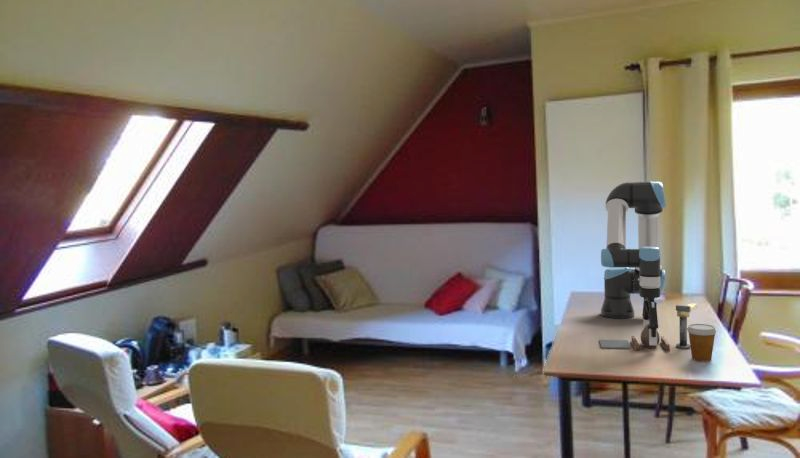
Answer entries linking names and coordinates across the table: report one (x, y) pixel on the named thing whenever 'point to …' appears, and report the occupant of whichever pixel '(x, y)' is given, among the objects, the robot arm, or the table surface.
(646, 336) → the vase
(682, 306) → the latch
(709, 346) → the disposable coffee cup
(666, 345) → the cradle
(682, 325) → the post
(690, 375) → the table surface
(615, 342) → the mat
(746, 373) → the table surface
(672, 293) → the table surface
